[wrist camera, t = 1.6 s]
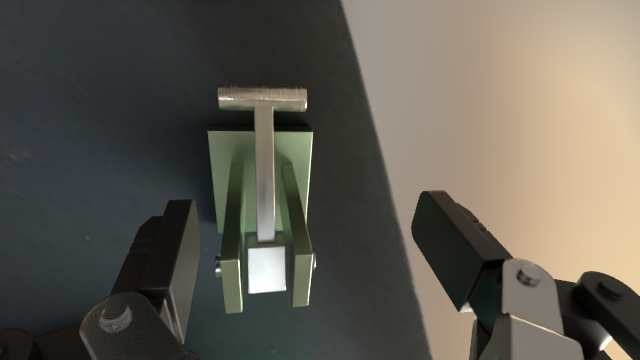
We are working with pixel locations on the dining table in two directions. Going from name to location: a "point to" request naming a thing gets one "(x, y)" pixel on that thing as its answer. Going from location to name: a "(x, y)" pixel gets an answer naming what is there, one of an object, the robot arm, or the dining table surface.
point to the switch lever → (264, 176)
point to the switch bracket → (240, 204)
